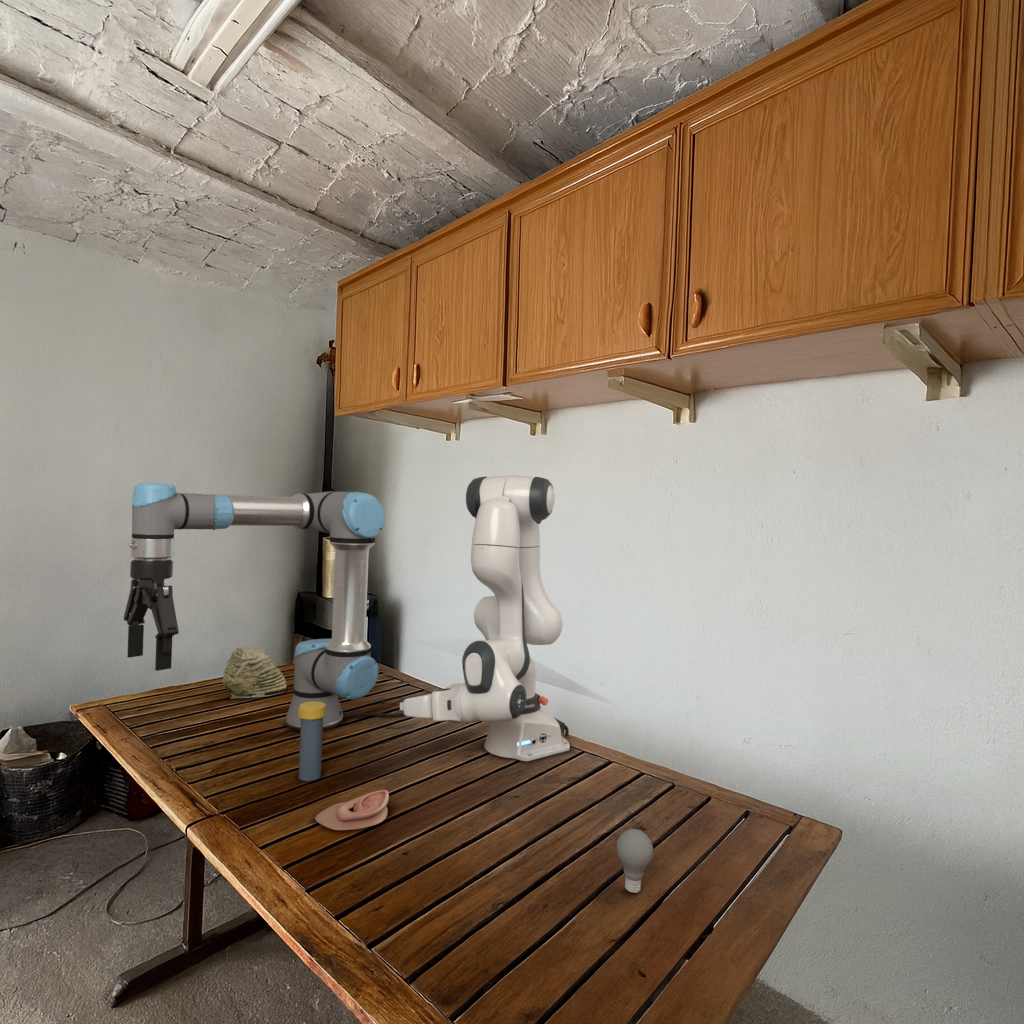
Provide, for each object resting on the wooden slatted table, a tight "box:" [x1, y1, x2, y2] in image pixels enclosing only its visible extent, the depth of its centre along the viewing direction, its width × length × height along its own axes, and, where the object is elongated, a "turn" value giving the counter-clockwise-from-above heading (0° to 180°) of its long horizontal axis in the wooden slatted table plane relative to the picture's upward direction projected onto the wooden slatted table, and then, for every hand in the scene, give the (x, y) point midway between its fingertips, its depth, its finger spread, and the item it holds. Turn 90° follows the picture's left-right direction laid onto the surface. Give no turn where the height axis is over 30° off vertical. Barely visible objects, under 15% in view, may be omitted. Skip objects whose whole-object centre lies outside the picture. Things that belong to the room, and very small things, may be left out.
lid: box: [299, 701, 326, 720], centre depth 143 cm, size 6×6×2 cm
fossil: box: [222, 646, 288, 699], centre depth 198 cm, size 9×18×15 cm, turn 132°
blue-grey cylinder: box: [298, 717, 324, 782], centre depth 143 cm, size 5×5×16 cm
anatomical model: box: [314, 789, 390, 831], centre depth 126 cm, size 13×4×12 cm
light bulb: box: [615, 828, 654, 894], centre depth 106 cm, size 6×6×10 cm
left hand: (148, 662), depth 129 cm, fingers open, 13 cm apart
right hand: (415, 704), depth 152 cm, fingers open, 8 cm apart
